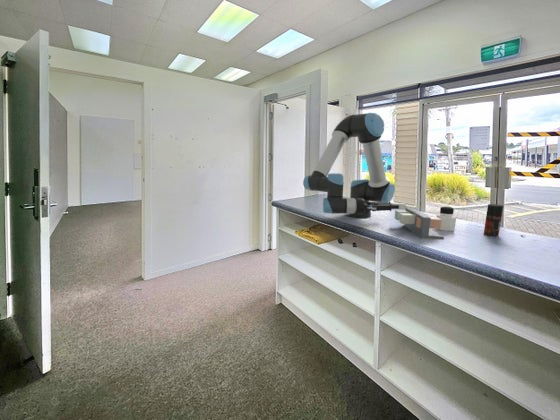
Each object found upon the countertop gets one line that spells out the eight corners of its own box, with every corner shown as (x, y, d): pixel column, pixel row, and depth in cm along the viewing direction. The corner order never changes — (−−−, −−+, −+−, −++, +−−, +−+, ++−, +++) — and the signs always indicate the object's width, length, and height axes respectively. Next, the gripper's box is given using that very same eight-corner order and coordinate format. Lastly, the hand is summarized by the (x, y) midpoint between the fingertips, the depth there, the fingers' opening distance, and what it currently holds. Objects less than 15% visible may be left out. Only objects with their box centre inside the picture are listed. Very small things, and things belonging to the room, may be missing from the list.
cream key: (402, 223, 144) (402, 215, 143) (399, 221, 148) (400, 213, 148) (421, 224, 143) (422, 215, 142) (418, 222, 148) (419, 213, 147)
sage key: (397, 220, 152) (397, 211, 151) (394, 218, 156) (395, 210, 155) (415, 220, 151) (416, 212, 150) (412, 218, 156) (413, 210, 155)
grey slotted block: (421, 238, 134) (423, 217, 132) (403, 225, 159) (405, 207, 157) (443, 238, 134) (446, 218, 132) (422, 225, 158) (424, 207, 156)
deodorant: (484, 232, 145) (488, 203, 142) (498, 234, 141) (503, 205, 138) (483, 235, 140) (487, 205, 137) (498, 237, 136) (503, 206, 133)
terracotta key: (419, 228, 136) (420, 218, 135) (416, 225, 140) (417, 216, 139) (440, 228, 135) (441, 219, 134) (436, 226, 139) (437, 217, 139)
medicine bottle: (454, 231, 147) (457, 208, 145) (439, 230, 148) (442, 207, 146) (449, 227, 154) (452, 206, 151) (435, 227, 155) (437, 205, 153)
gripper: (352, 210, 146) (400, 211, 144) (356, 216, 133) (409, 217, 131) (353, 196, 144) (401, 196, 142) (357, 200, 132) (410, 201, 130)
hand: (404, 206), depth 137 cm, fingers closed
